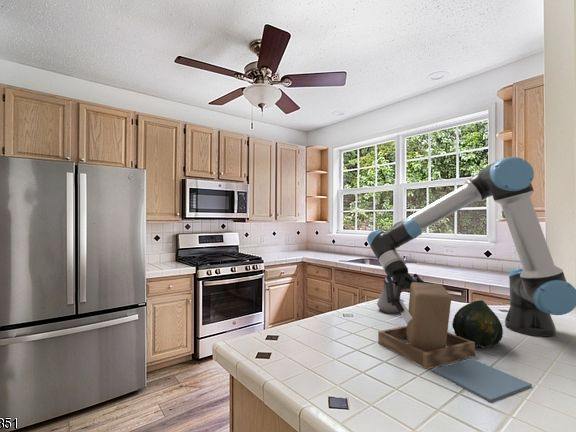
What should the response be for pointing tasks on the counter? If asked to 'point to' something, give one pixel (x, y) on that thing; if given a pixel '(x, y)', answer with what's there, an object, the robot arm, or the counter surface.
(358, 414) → the counter surface
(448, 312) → the block
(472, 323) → the squash
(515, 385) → the rubber mat
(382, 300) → the coffee pot
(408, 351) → the walnut frame
